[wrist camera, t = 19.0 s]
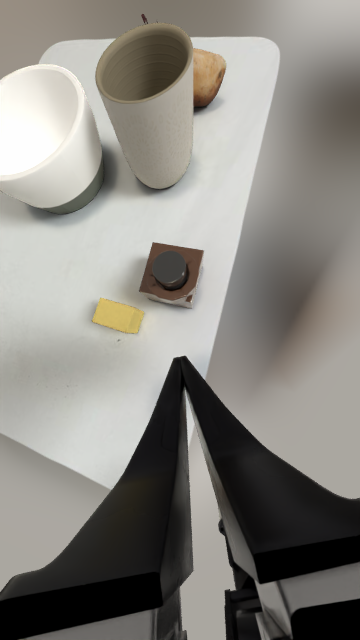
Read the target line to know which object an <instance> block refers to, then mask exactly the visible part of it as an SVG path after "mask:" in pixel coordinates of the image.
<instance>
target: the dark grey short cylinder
mask: <svg viewBox="0 0 360 640" xmlns="http://www.w3.org/2000/svg"><path fill="white" fill-rule="evenodd" d="M152 270H153V274H154V276H155V277H156V279H157V280H158V282H159V283H160V285H161V286H162V287H164V288H166V289H169V290H174V289H178V288H180V287H181V286H182V285H183V284H184V283H185V281H186V279H187V268H186V262H185V259H184V257H183V256H182V255H181V254H179V253H178V252H175V251H165V252H162V253H161V254H159V255H158V256H157V257H156V258H155V260H154V262H153V266H152Z"/></svg>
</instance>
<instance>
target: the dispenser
mask: <svg viewBox="0 0 360 640" xmlns="http://www.w3.org/2000/svg"><path fill="white" fill-rule="evenodd" d="M165 251H175V252H178V253H179V254H181V255H182V256H183V257H184V259H185V262H186V268H187V279H186V281H185V283H184V284H183V285H182V286H181V287H180V288H178V289H174V290H169V289H166V288H164V287H162V286H161V285H160V283H159V282H158V280H157V279H156V277H155V276H154V274H153V270H152V266H153V262H154V260H155V258H156V257H157V256H158V255H159V254H161V253H162V252H165ZM203 254H204V251H203V250H198V249H191V248H185V247H179V246H173V245H166V244H160V243H154V242H153V243H152V247H151V251H150V254H149V258H148V261H147V265H146V268H145V272H144V275H143V279H142V282H141V286H140V289H139V292H141V293H142V294H143V295H144V296H146V297H147V298H148V299H150V300H154V301H159V302H163V303H168V304H172V305H177V306H181V307H186V308H190V309H192V306H193V302H194V298H195V294H196V290H197V286H198V282H199V277H200V273H201V269H202V264H203Z"/></svg>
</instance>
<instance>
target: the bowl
mask: <svg viewBox="0 0 360 640" xmlns="http://www.w3.org/2000/svg"><path fill="white" fill-rule="evenodd" d="M103 178H104V165H103V156H102V146H101V142H100V138H99V134H98V130H97V125H96V122H95V118H94V115H93V112H92V110H91V107H90V105H89V102H88V99H87V97H86V94H85V92H84V89H83V87H82V85H81V84H80V82H79V80H78V79H77V77H76V76H75V75H73V74H72V73H71V72H70V71H69V70H67V69H65V68H63V67H61V66H57V65H52V64H38V65H33V66H28V67H25V68H22V69H19V70H17V71H15V72H13V73H11V74H9V75H7V76H5V77H4V78H2V79H1V80H0V190H1V191H2V192H4V193H5V194H8V195H10V196H12V197H14V198H16V199H18V200H20V201H22V202H24V203H26V204H29V205H31V206H33V207H37V208H40V209H43V210H46V211H49V212H52V213H56V214H66V213H71V212H74V211H76V210H79V209H80V208H82V207H84V206H85V205H87V204H88V203H89V202H90V201H91V200H92V199H93V198H94V197H95V195H96V194H97V193H98V191H99V189H100V188H101V185H102V182H103Z"/></svg>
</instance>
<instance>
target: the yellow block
mask: <svg viewBox="0 0 360 640" xmlns="http://www.w3.org/2000/svg"><path fill="white" fill-rule="evenodd" d="M143 315H144V312H143V311H141V310H139V309H136V308H134V307H131V306H127V305H124V304H121V303H117V302H114V301H110V300H107V299H104V298H100V300H99V303H98V306H97V308H96V311H95V314H94V317H93V320H92V322H94V323H97V324H100V325H103V326H106V327H109V328H113V329H116V330H119V331H122V332H125V333H138V330H139V327H140V324H141V321H142V318H143Z"/></svg>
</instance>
